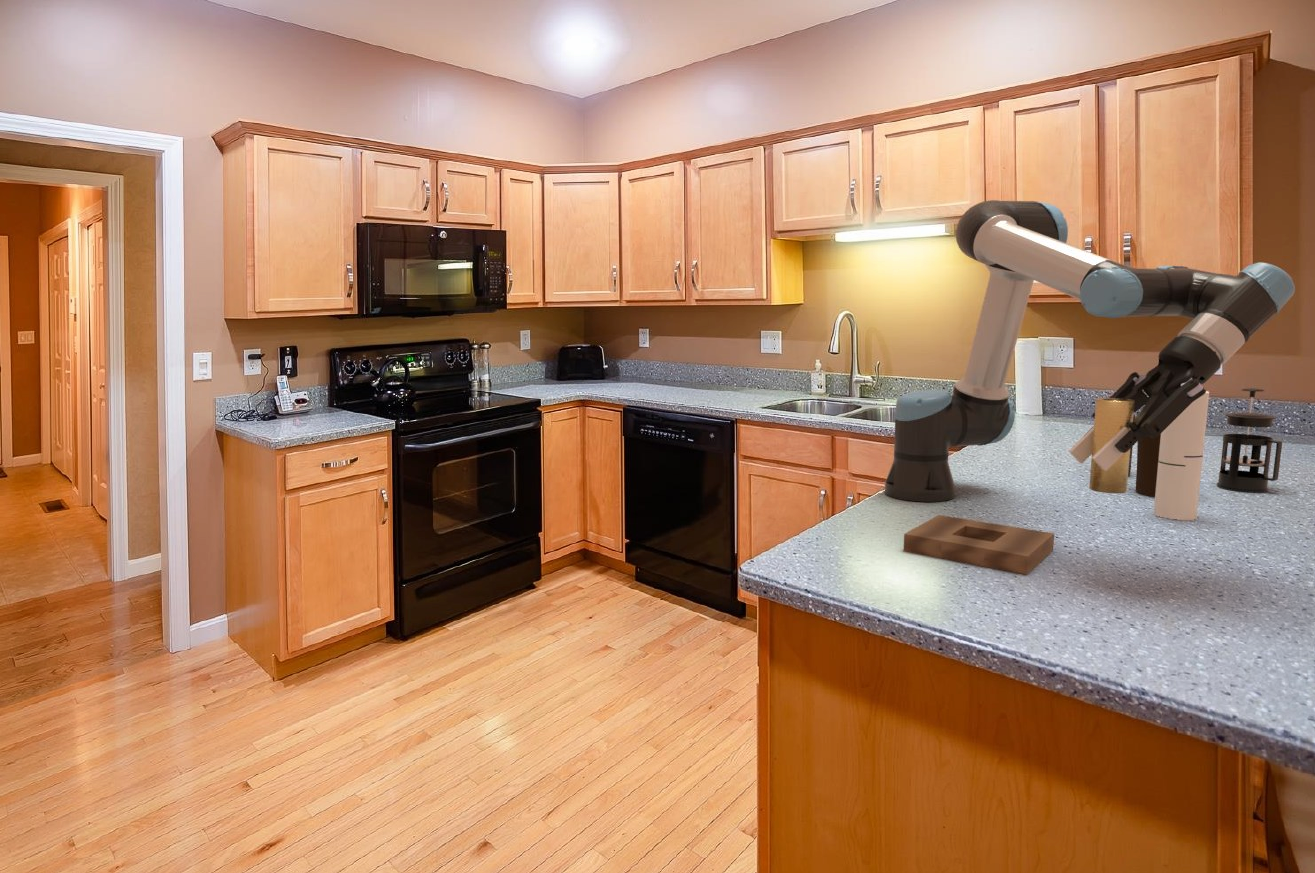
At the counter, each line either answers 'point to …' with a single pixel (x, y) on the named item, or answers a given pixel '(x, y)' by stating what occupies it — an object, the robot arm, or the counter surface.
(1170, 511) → the cylindrical container
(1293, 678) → the counter surface
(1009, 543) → the walnut jig plate
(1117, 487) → the brass bushing
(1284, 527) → the counter surface
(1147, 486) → the olive oil
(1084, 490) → the counter surface
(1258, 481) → the french press
